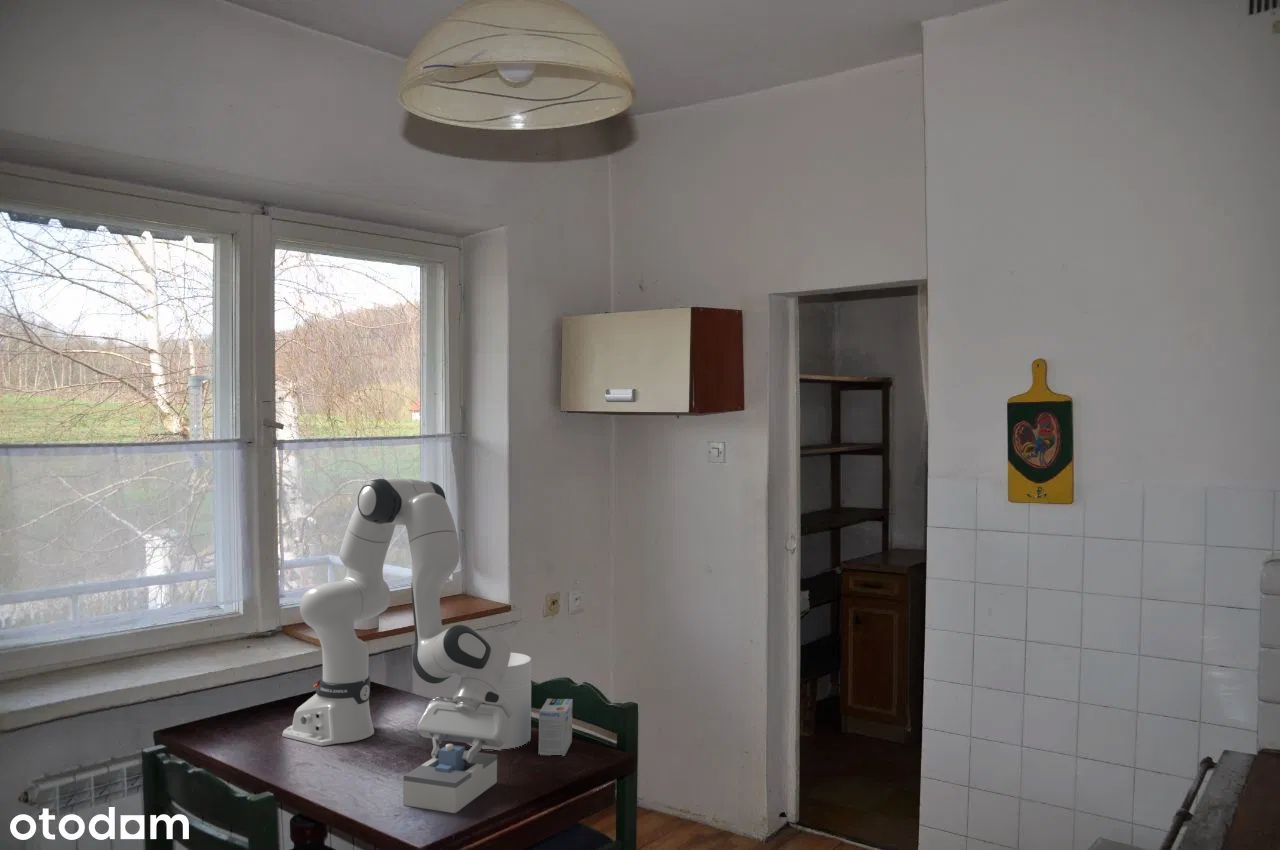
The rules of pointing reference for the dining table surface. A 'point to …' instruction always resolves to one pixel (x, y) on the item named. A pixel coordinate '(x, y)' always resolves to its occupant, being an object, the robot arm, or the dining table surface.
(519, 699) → the canister
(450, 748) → the block
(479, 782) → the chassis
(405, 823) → the dining table surface
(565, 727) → the light bulb box
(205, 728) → the dining table surface
